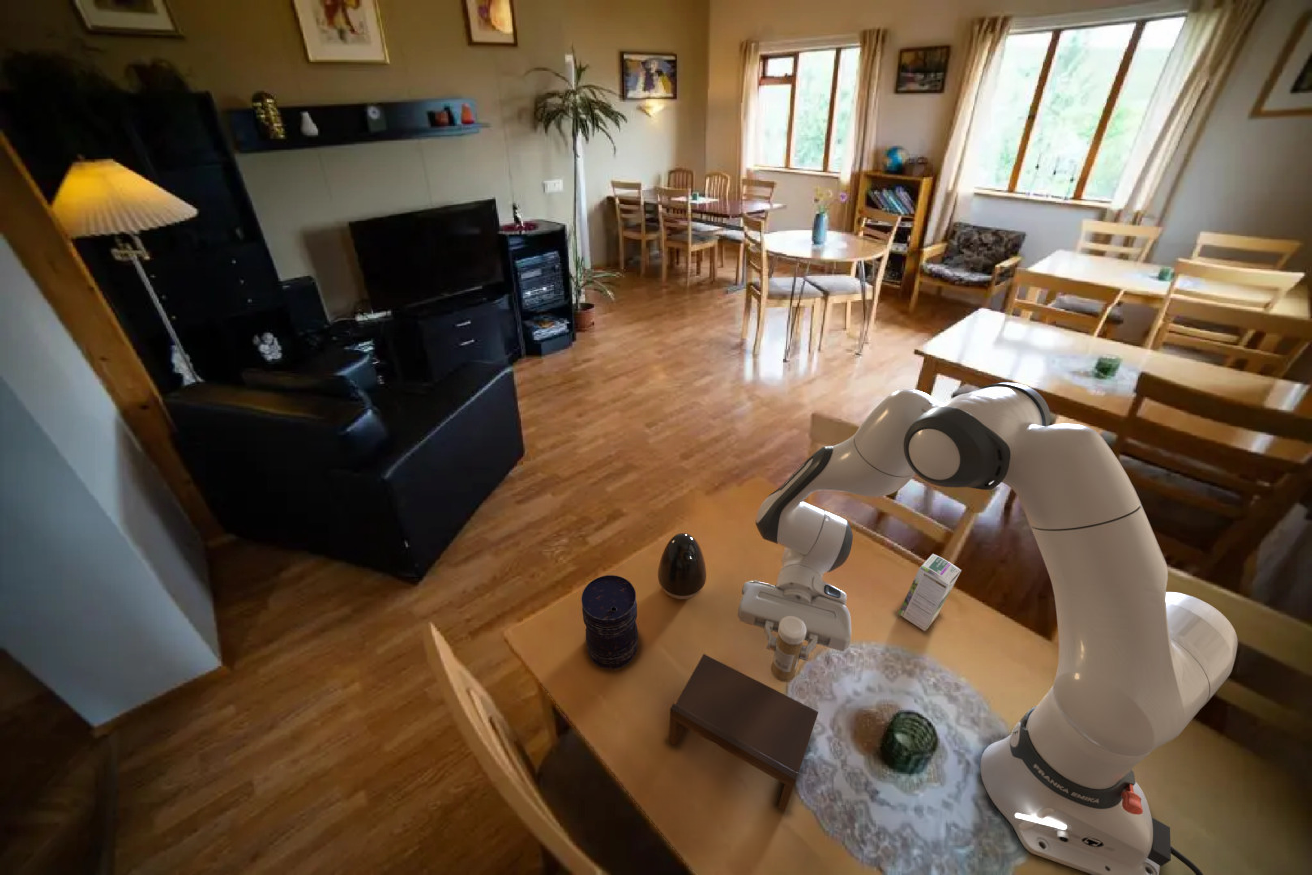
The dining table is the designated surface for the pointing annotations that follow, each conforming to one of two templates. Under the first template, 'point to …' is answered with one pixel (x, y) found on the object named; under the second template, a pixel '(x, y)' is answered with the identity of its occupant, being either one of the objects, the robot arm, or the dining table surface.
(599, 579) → the storage jar
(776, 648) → the sprinkles bottle
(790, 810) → the dining table surface
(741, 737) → the desk shelf
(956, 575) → the syrup box
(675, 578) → the black egg-shaped piece
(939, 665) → the dining table surface
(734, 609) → the dining table surface
